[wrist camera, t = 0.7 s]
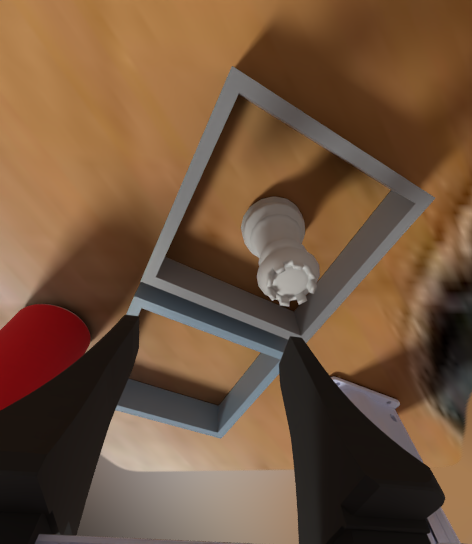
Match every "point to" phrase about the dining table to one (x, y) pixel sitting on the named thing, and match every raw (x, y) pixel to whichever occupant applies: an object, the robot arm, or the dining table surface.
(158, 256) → the charcoal bin
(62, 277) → the dining table surface
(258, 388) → the slate bin
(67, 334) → the beverage can
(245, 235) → the rook chess piece
